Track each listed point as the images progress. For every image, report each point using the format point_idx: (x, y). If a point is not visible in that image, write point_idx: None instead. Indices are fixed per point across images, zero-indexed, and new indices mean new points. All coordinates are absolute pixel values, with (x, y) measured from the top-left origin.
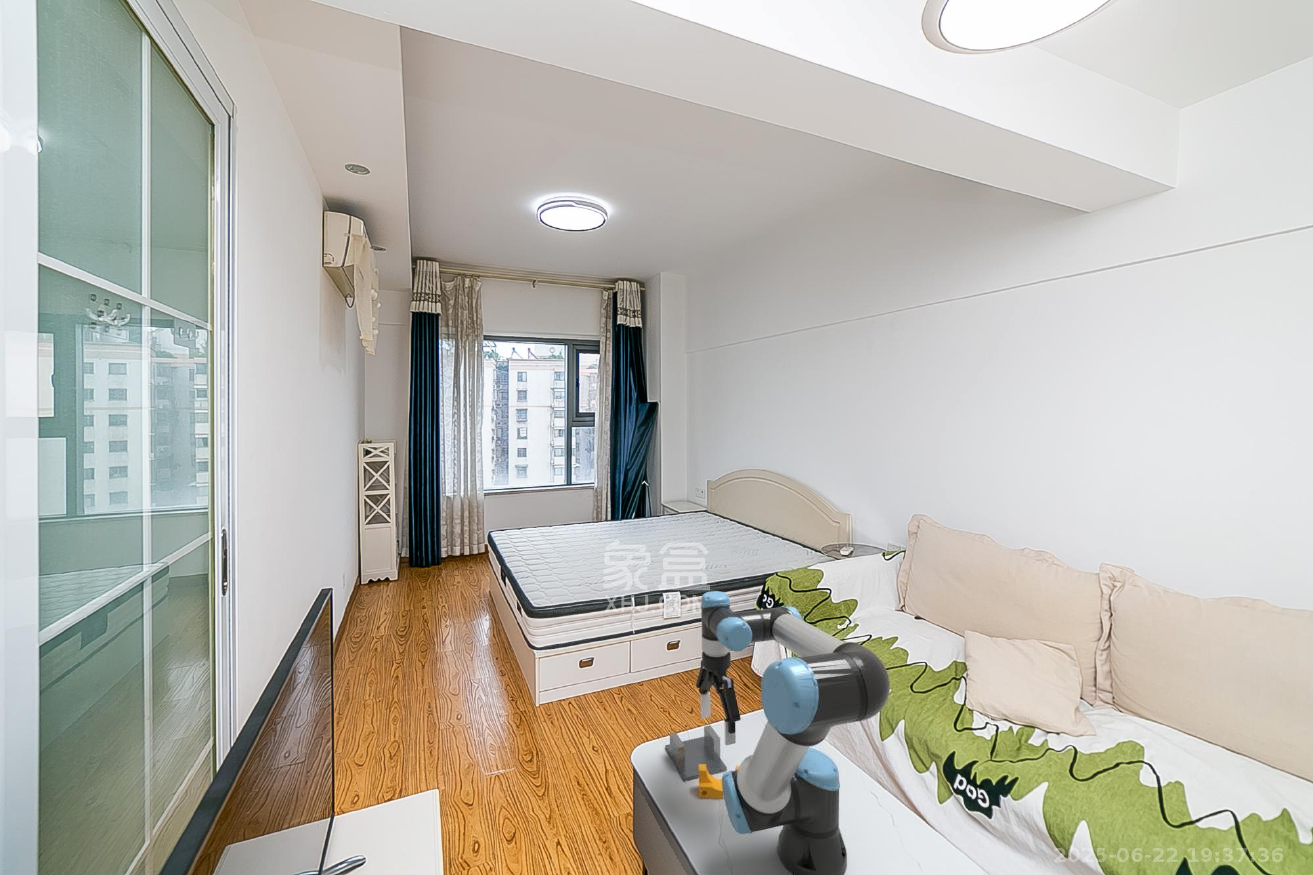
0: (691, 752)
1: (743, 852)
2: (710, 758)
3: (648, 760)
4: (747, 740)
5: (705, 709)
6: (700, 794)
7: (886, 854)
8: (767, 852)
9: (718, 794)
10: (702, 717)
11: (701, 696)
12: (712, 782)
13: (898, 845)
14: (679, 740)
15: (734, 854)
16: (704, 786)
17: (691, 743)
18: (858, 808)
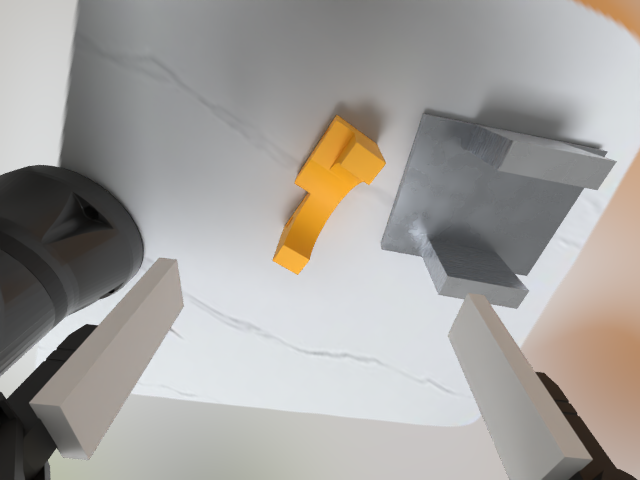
0: (503, 205)
1: (107, 103)
2: (440, 235)
3: (607, 52)
4: (435, 340)
5: (480, 353)
6: (333, 120)
7: (61, 327)
8: (97, 157)
9: (303, 167)
10: (469, 300)
11: (561, 444)
12: (329, 171)
13: None
14: (545, 172)
15: (105, 75)
16: (326, 137)
17: (535, 229)
18: (166, 361)
